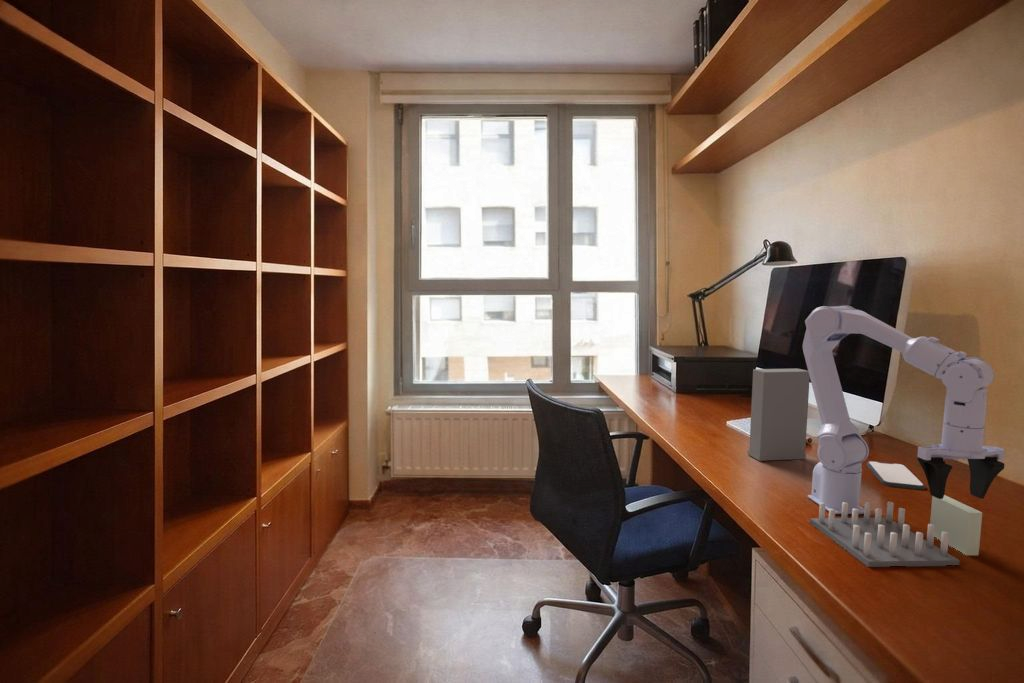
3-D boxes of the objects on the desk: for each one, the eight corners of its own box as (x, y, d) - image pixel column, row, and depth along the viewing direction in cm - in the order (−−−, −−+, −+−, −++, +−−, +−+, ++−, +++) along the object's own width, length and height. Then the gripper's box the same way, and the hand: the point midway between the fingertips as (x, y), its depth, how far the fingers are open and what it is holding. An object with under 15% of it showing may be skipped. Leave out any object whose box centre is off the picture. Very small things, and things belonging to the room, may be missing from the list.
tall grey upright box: (791, 453, 153) (796, 368, 150) (805, 459, 147) (810, 371, 144) (746, 454, 151) (750, 368, 149) (759, 461, 145) (763, 372, 143)
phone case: (927, 493, 125) (904, 469, 140) (927, 486, 124) (904, 464, 139) (883, 488, 128) (865, 466, 143) (883, 482, 128) (865, 460, 142)
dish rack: (809, 522, 107) (811, 499, 107) (886, 522, 108) (888, 498, 107) (868, 567, 90) (870, 539, 90) (958, 565, 91) (961, 538, 90)
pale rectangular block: (929, 534, 102) (932, 495, 102) (941, 534, 102) (944, 495, 102) (965, 555, 94) (969, 512, 94) (978, 555, 94) (982, 512, 94)
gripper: (942, 430, 92) (935, 505, 93) (1024, 430, 92) (1016, 505, 93) (911, 420, 99) (905, 490, 100) (987, 420, 99) (980, 490, 100)
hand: (956, 496), depth 97 cm, fingers open, 7 cm apart
